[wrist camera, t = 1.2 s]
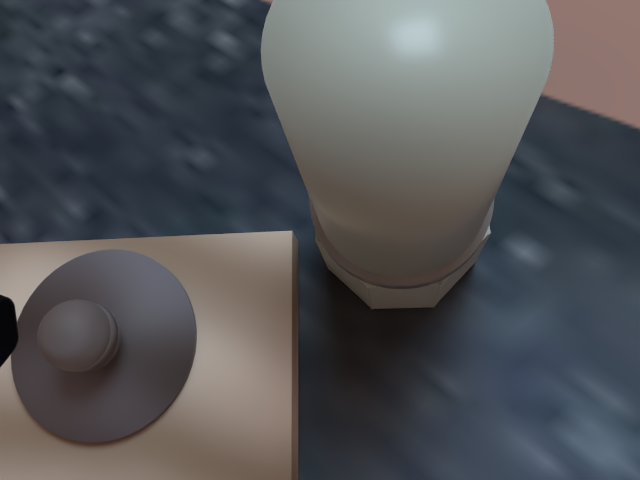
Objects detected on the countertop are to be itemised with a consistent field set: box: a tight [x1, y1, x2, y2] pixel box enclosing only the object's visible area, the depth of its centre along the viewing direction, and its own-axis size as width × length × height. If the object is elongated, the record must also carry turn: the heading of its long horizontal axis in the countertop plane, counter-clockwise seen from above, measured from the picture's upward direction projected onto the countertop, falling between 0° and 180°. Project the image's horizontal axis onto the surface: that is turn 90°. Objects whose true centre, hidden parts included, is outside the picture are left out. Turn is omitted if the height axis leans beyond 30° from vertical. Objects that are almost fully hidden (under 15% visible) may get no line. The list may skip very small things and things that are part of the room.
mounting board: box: [0, 231, 298, 480], centre depth 20 cm, size 16×14×5 cm
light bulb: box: [261, 0, 554, 310], centre depth 17 cm, size 6×6×13 cm
